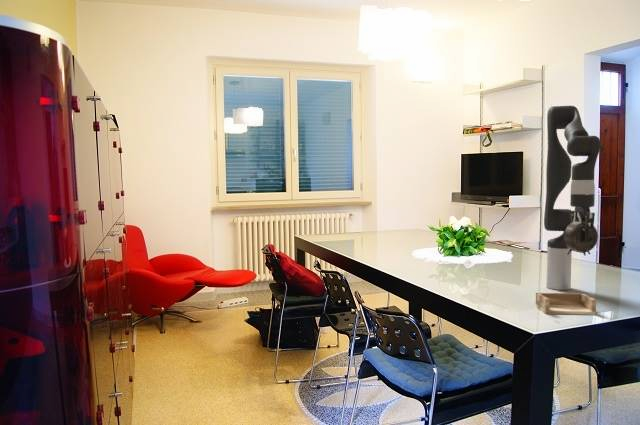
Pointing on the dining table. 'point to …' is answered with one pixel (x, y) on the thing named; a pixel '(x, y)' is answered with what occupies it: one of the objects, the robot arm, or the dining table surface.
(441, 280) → the dining table surface
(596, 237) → the alarm clock
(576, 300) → the clock stand
